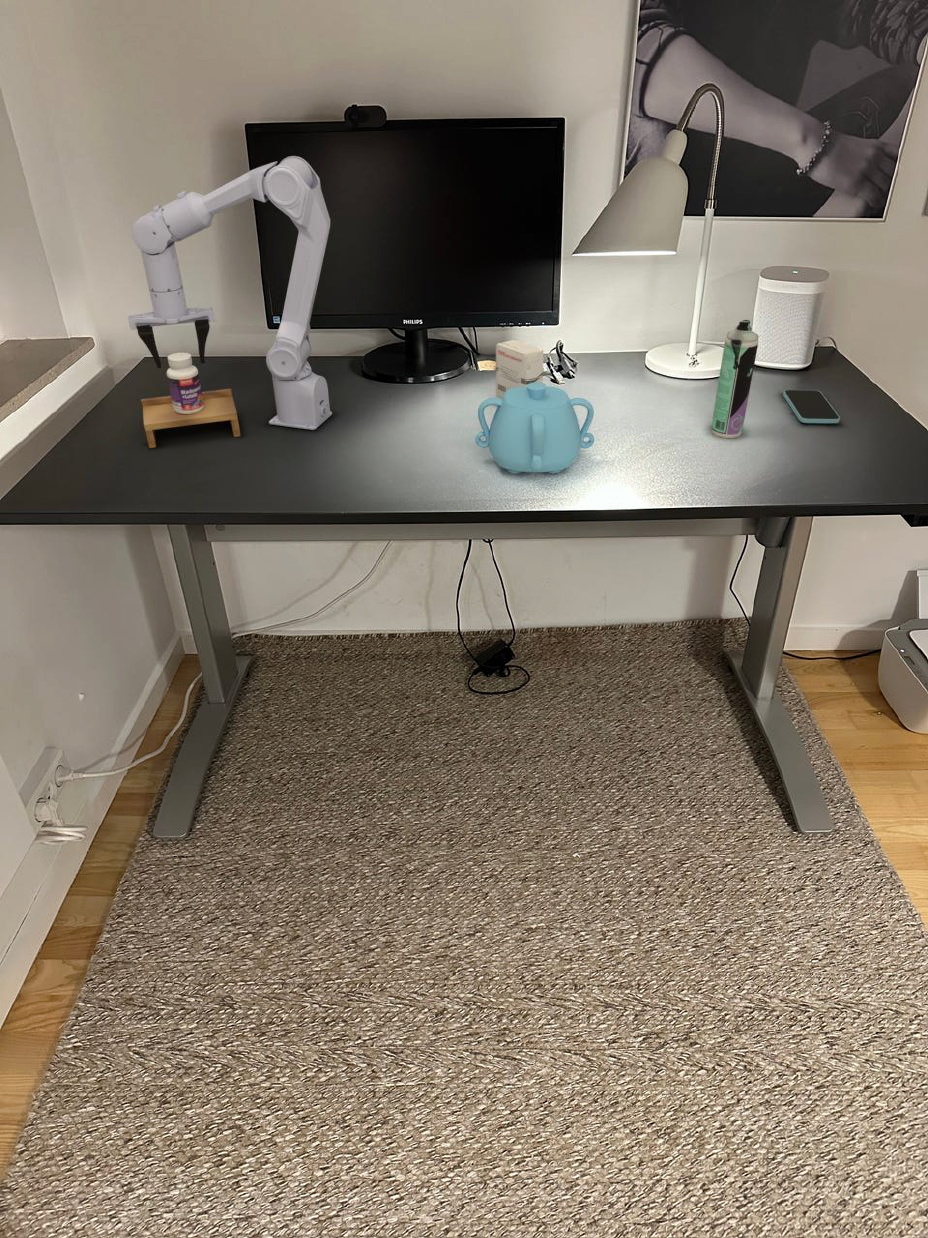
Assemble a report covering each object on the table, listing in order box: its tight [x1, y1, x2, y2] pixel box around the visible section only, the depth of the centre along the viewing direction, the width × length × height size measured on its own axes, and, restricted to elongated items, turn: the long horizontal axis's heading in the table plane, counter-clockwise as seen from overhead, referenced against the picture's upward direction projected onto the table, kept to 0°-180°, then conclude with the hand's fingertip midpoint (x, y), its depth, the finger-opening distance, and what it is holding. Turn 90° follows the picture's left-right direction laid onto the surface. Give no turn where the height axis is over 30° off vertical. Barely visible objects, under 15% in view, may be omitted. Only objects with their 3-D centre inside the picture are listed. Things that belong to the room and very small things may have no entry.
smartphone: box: [782, 389, 841, 424], centre depth 171 cm, size 7×1×15 cm
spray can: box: [710, 319, 760, 439], centre depth 158 cm, size 6×6×20 cm
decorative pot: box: [474, 382, 595, 474], centre depth 151 cm, size 16×16×14 cm
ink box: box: [495, 339, 544, 399], centre depth 170 cm, size 9×5×12 cm, turn 39°
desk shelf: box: [140, 388, 241, 449], centre depth 164 cm, size 16×9×6 cm, turn 107°
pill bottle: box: [166, 351, 204, 414], centre depth 160 cm, size 5×5×10 cm
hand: (180, 363), depth 165 cm, fingers open, 7 cm apart
